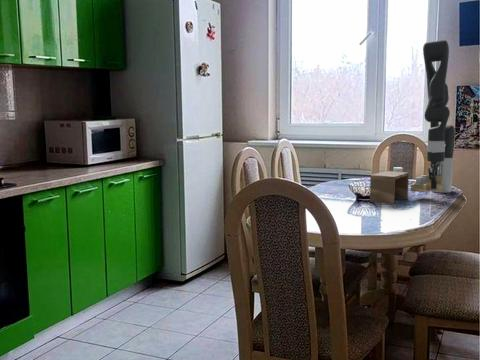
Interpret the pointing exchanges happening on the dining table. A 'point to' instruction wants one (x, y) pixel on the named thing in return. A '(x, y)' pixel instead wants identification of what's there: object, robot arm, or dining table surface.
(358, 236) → the dining table surface
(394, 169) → the supplement bottle
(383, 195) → the brown cardboard box
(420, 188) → the tray
